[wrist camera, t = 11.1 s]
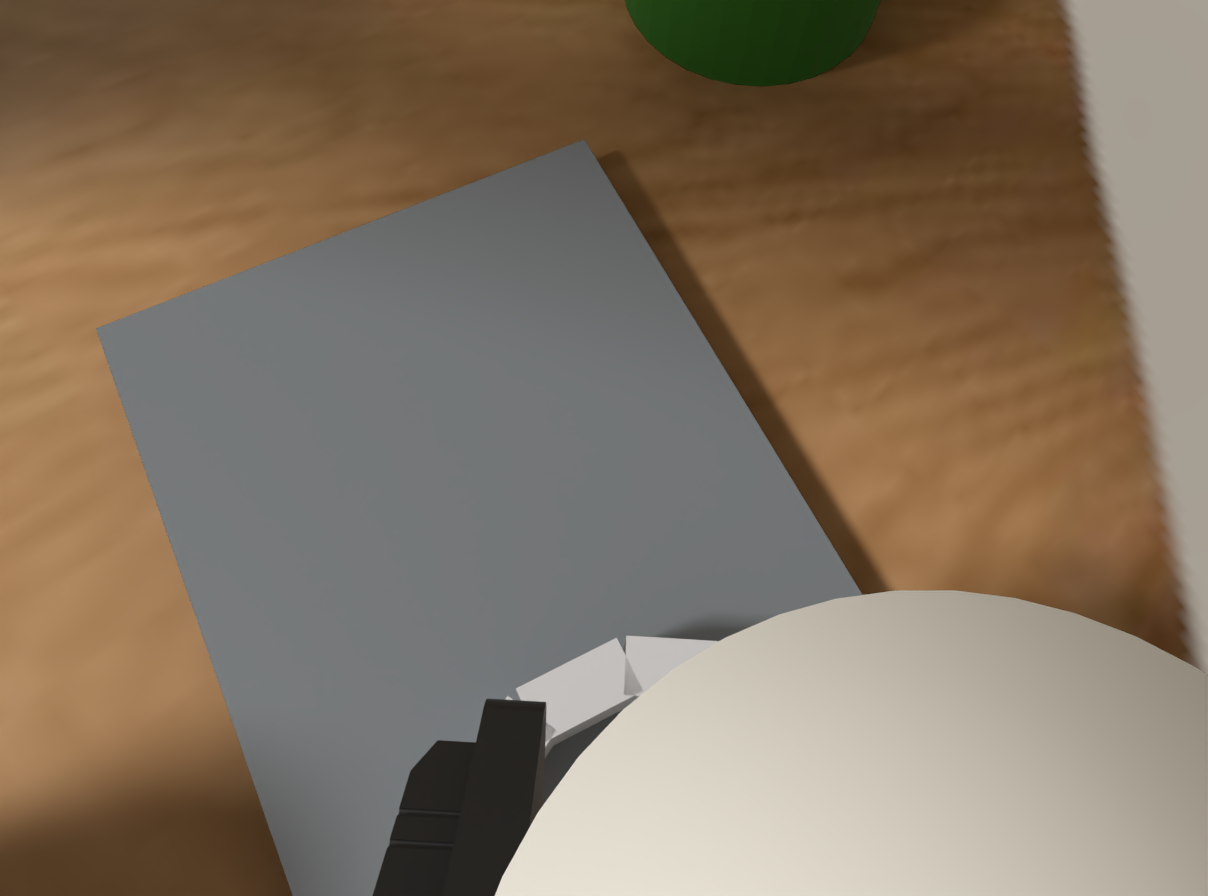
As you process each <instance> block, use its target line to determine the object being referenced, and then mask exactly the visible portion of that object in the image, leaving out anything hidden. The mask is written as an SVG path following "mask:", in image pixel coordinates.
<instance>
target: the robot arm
mask: <svg viewBox="0 0 1208 896" xmlns="http://www.w3.org/2000/svg"><path fill="white" fill-rule="evenodd" d="M545 738H546V702H538V701H521V700H505V699H488V698H487V699H486V701H485V704H484V708H483V713H482V717H481V722H480V726H479V731H478V735H477V740H476V742H460V741H443V740H437V742H436V743H435V744H434V745H433V746H432V747H431V748H430V749H429V750H428V752H427V753H426V754H425V755H424V756H423V757H422V758H421V759H420V761H419V762H418V763H417V764H416V765H415V766H414V767H413V768H412V770H411V771H410V774H409V777H408V780H407V784H406V787H405V790H404V793H403V797H402V800H401V803H400V807H399V814H398V815H397V817H396V820H395V823H394V826H393V830H392V833H391V836H390V843H389V847H387V850H386V853H385V856H384V859H383V863H382V866H381V869H380V873H379V876H378V879H377V882H376V886H375V889H374V892H373V896H495V894H496V891H497V889H498V886H499V884H500V881H501V879H502V876H503V875H504V873H505V871H506V869H507V867H508V866H509V864H510V862H511V860H512V858H513V857H514V855H515V853H516V851H517V849H518V847H519V846H520V844H521V842H522V840H523V838H524V837H525V835H526V833H527V831H528V829H529V828H530V826H531V824H532V822H533V820H534V819H535V817H536V815H537V813H538V812H539V810H540V809H541V808H542V806H543V790H544V764H545Z"/></svg>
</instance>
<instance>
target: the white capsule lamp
mask: <svg viewBox="0 0 1208 896" xmlns="http://www.w3.org/2000/svg"><path fill="white" fill-rule="evenodd" d="M495 896H1208V675H1207V674H1205V673H1204V672H1202V671H1201V670H1199V669H1198V668H1196V667H1194V666H1192V665H1190V664H1188V663H1187V662H1185V661H1183V660H1181V659H1179V658H1177V657H1175V656H1173V655H1171V654H1169V653H1167V652H1165V651H1163V650H1161V649H1159V648H1157V647H1156V646H1154V645H1152V644H1150V643H1148V642H1146V641H1144V640H1142V639H1140V638H1138V637H1136V636H1134V635H1131V634H1128V633H1126V632H1123V631H1121V630H1118V629H1115V628H1113V627H1110V626H1107V625H1105V624H1102V623H1100V622H1097V621H1094V620H1092V619H1089V618H1086V617H1084V616H1081V615H1079V614H1076V613H1072V612H1068V611H1064V610H1060V609H1056V608H1052V607H1048V606H1044V605H1041V604H1037V603H1033V602H1029V601H1025V600H1021V599H1017V598H1011V597H1003V596H995V595H987V594H979V593H971V592H963V591H955V590H938V591H888V592H881V593H874V594H866V595H859V596H852V597H844V598H837V599H833V600H829V601H826V602H822V603H819V604H815V605H811V606H808V607H804V608H801V609H797V610H793V611H790V612H786V613H783V614H779V615H777V616H774V617H772V618H770V619H768V620H765V621H763V622H761V623H758V624H756V625H754V626H751V627H749V628H747V629H744V630H742V631H740V632H737V633H735V634H733V635H730V636H728V637H726V638H724V639H722V640H720V641H719V642H717V643H716V644H714V645H712V646H711V647H709V648H707V649H706V650H704V651H702V652H701V653H699V654H697V655H696V656H694V657H692V658H691V659H689V660H688V661H686V662H684V663H683V664H681V665H679V666H678V667H676V668H674V669H673V670H671V671H670V672H669V673H668V674H666V675H665V676H664V677H663V678H661V679H660V680H659V681H658V682H657V683H655V684H654V685H653V686H652V687H650V688H649V689H648V690H647V691H645V692H644V693H643V694H642V695H640V696H639V697H638V698H637V699H636V700H634V701H633V702H632V703H631V704H629V705H628V706H627V707H626V708H624V709H623V710H622V711H621V712H620V713H619V714H618V716H617V717H616V718H615V719H614V720H613V721H612V722H611V723H610V724H609V725H608V726H607V727H606V728H605V729H604V730H603V731H602V732H601V734H600V735H599V736H598V737H597V738H596V739H595V740H594V741H593V742H592V743H591V744H590V745H589V746H588V747H587V748H586V749H585V750H584V751H583V753H582V754H581V755H580V756H579V757H578V758H577V759H576V761H575V762H574V764H573V765H572V766H571V768H570V769H569V770H568V772H567V773H566V775H565V776H564V777H563V779H562V780H561V781H560V783H559V784H558V786H557V787H556V788H555V790H554V791H553V792H552V794H551V795H550V797H549V798H548V799H547V801H546V802H545V803H544V805H543V806H542V808H541V809H540V810H539V812H538V813H537V815H536V817H535V819H534V820H533V822H532V824H531V826H530V828H529V829H528V831H527V833H526V835H525V837H524V838H523V840H522V842H521V844H520V846H519V847H518V849H517V851H516V853H515V855H514V857H513V858H512V860H511V862H510V864H509V866H508V867H507V869H506V871H505V873H504V875H503V876H502V879H501V881H500V884H499V886H498V889H497V891H496V894H495Z"/></svg>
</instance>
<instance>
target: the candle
mask: <svg viewBox="0 0 1208 896" xmlns="http://www.w3.org/2000/svg"><path fill="white" fill-rule="evenodd" d="M625 2H626V7H627V9H628V11H629V13H630V16H631V18H632V20H633V22H634V24H635V26H636V27H637V28H638V30H639V31H640V32H641V33H642V35H643V36H644V37H645V39H646V40H647V41H648V42H649V43H650V44H651V45H652V46H653V47H654V48H656V49H657V50H658V51H659V52H660V53H661V54H663V55H664V56H665V57H666V58H668V59H670V60H671V61H673V62H675V63H676V64H678V65H680V66H681V67H683V68H685V69H686V70H689V71H691V72H694V73H696V74H699V75H702V76H704V77H707V78H709V79H713V80H717V81H722V82H726V83H731V84H735V85H748V86H772V85H783V84H790V83H794V82H798V81H802V80H805V79H809V78H813V77H815V76H817V75H819V74H821V73H823V72H825V71H828V70H830V69H832V68H834V67H835V66H836V65H838V64H839V63H840V62H842V61H843V60H844V59H846V58H847V57H849V56H850V55H851V54H852V53H853V52H854V50H855V49H856V48H857V47H858V46H859V45H860V43H861V42H862V41H863V40H864V38H865V36H866V34H867V32H868V30H869V28H870V26H871V24H872V22H873V19H874V16H875V14H876V11H877V8H878V6H879V3H880V0H625Z"/></svg>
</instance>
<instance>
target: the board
mask: <svg viewBox="0 0 1208 896" xmlns="http://www.w3.org/2000/svg"><path fill="white" fill-rule="evenodd" d="M96 330H97V333H98V336H99V339H100V342H101V345H102V347H103V350H104V353H105V356H106V359H107V362H108V365H109V368H110V371H111V373H112V376H113V379H114V382H115V385H116V388H117V391H118V394H119V396H120V399H121V402H122V405H123V408H124V411H125V414H126V417H127V420H128V422H129V425H130V428H131V431H132V434H133V437H134V440H135V443H136V446H137V448H138V451H139V454H140V457H141V460H142V463H143V466H144V469H145V471H146V474H147V477H148V480H149V483H150V486H151V489H152V492H153V495H154V497H155V500H156V503H157V506H158V509H159V512H160V515H161V518H162V521H163V523H164V526H165V529H166V532H167V535H168V538H169V541H170V544H171V546H172V549H173V552H174V555H175V558H176V561H177V564H178V567H179V570H180V572H181V575H182V578H183V581H184V584H185V587H186V590H187V593H188V596H189V598H190V601H191V604H192V607H193V610H194V613H195V616H196V619H197V621H198V624H199V627H200V630H201V633H202V636H203V639H204V642H205V645H206V647H207V650H208V653H209V656H210V659H211V662H212V665H213V668H214V671H215V673H216V676H217V679H218V682H219V685H220V688H221V691H222V694H223V696H224V699H225V702H226V705H227V708H228V711H229V714H230V717H231V720H232V722H233V725H234V728H235V731H236V734H237V737H238V740H239V743H240V746H241V748H242V751H243V754H244V757H245V760H246V763H247V766H248V769H249V771H250V774H251V777H252V780H253V783H254V786H255V789H256V792H257V795H258V797H259V800H260V803H261V806H262V809H263V812H264V815H265V818H266V821H267V823H268V826H269V829H270V832H271V835H272V838H273V841H274V844H275V846H276V849H277V852H278V855H279V858H280V861H281V864H282V867H283V870H284V872H285V875H286V878H287V881H288V884H289V887H290V890H291V893H292V896H373V892H374V889H375V886H376V882H377V879H378V876H379V873H380V869H381V866H382V863H383V859H384V856H385V853H386V850H387V847H389V843H390V836H391V833H392V830H393V826H394V823H395V820H396V817H397V815H398V814H399V807H400V803H401V800H402V797H403V793H404V790H405V787H406V784H407V780H408V777H409V774H410V771H411V770H412V768H413V767H414V766H415V765H416V764H417V763H418V762H419V761H420V759H421V758H422V757H423V756H424V755H425V754H426V753H427V752H428V750H429V749H430V748H431V747H432V746H433V745H434V744H435V743H436V742H437V740H443V741H460V742H476V740H477V735H478V731H479V726H480V722H481V717H482V713H483V708H484V704H485V701H486V699H487V698H488V699H505V700H521V701H538V702H546V738H545V764H544V790H543V805H544V803H545V802H546V801H547V799H548V798H549V797H550V795H551V794H552V792H553V791H554V790H555V788H556V787H557V786H558V784H559V783H560V781H561V780H562V779H563V777H564V776H565V775H566V773H567V772H568V770H569V769H570V768H571V766H572V765H573V764H574V762H575V761H576V759H577V758H578V757H579V756H580V755H581V754H582V753H583V751H584V750H585V749H586V748H587V747H588V746H589V745H590V744H591V743H592V742H593V741H594V740H595V739H596V738H597V737H598V736H599V735H600V734H601V732H602V731H603V730H604V729H605V728H606V727H607V726H608V725H609V724H610V723H611V722H612V721H613V720H614V719H615V718H616V717H617V716H618V714H619V713H620V712H621V711H622V710H623V709H624V708H626V707H627V706H628V705H629V704H631V703H632V702H633V701H634V700H636V699H637V698H638V697H639V696H640V695H642V694H643V693H644V692H645V691H647V690H648V689H649V688H650V687H652V686H653V685H654V684H655V683H657V682H658V681H659V680H660V679H661V678H663V677H664V676H665V675H666V674H668V673H669V672H670V671H671V670H673V669H674V668H676V667H678V666H679V665H681V664H683V663H684V662H686V661H688V660H689V659H691V658H692V657H694V656H696V655H697V654H699V653H701V652H702V651H704V650H706V649H707V648H709V647H711V646H712V645H714V644H716V643H717V642H719V641H720V640H722V639H724V638H726V637H728V636H730V635H733V634H735V633H737V632H740V631H742V630H744V629H747V628H749V627H751V626H754V625H756V624H758V623H761V622H763V621H765V620H768V619H770V618H772V617H774V616H777V615H779V614H783V613H786V612H790V611H793V610H797V609H801V608H804V607H808V606H811V605H815V604H819V603H822V602H826V601H829V600H833V599H837V598H844V597H852V596H859V595H862V593H861V592H860V590H859V588H858V587H857V585H856V583H855V582H854V580H853V578H852V577H851V575H850V574H849V572H848V570H847V569H846V567H845V565H844V564H843V562H842V560H841V559H840V557H839V556H838V554H837V552H836V551H835V549H834V547H833V546H832V544H831V542H830V541H829V539H828V537H827V536H826V534H825V533H824V531H823V529H822V528H821V526H820V524H819V523H818V521H817V519H816V518H815V516H814V515H813V513H812V511H811V510H810V508H809V506H808V505H807V503H806V501H805V500H804V498H803V497H802V495H801V493H800V492H799V490H798V488H797V487H796V485H795V483H794V482H793V480H792V479H791V477H790V475H789V474H788V472H787V470H786V469H785V467H784V465H783V464H782V462H781V461H780V459H779V457H778V456H777V454H776V452H775V451H774V449H773V447H772V446H771V444H770V443H769V441H768V439H767V438H766V436H765V434H764V433H763V431H762V429H761V428H760V426H759V425H758V423H757V421H756V420H755V418H754V416H753V415H752V413H751V411H750V410H749V408H748V407H747V405H746V403H745V402H744V400H743V398H742V397H741V395H740V393H739V392H738V390H737V389H736V387H735V385H734V384H733V382H732V380H731V379H730V377H729V375H728V374H727V372H726V371H725V369H724V367H723V366H722V364H721V362H720V361H719V359H718V357H717V356H716V354H715V353H714V351H713V349H712V348H711V346H710V344H709V343H708V341H707V339H706V338H705V336H704V335H703V333H702V331H701V330H700V328H699V326H698V325H697V323H696V321H695V320H694V318H693V317H692V315H691V313H690V312H689V310H688V308H687V307H686V305H685V303H684V302H683V300H682V299H681V297H680V295H679V294H678V292H677V290H676V289H675V287H674V285H673V284H672V282H671V281H670V279H669V277H668V276H667V274H666V272H665V271H664V269H663V267H662V266H661V264H660V263H659V261H658V259H657V258H656V256H655V254H654V253H653V251H652V249H651V248H650V246H649V245H648V243H647V241H646V240H645V238H644V236H643V235H642V233H641V231H640V230H639V228H638V227H637V225H636V223H635V222H634V220H633V218H632V217H631V215H630V213H629V212H628V210H627V209H626V207H625V205H624V204H623V202H622V200H621V199H620V197H619V195H618V194H617V192H616V191H615V189H614V187H613V186H612V184H611V182H610V181H609V179H608V177H607V176H606V174H605V173H604V171H603V169H602V168H601V166H600V164H599V163H598V161H597V159H596V158H595V156H594V154H593V153H592V151H591V150H590V148H589V146H588V145H587V143H586V141H585V140H581V141H578V142H576V143H573V144H571V145H568V146H566V147H563V148H560V149H558V150H555V151H553V152H550V153H547V154H545V155H542V156H540V157H537V158H535V159H532V160H529V161H527V162H524V163H522V164H519V165H516V166H514V167H511V168H509V169H506V170H504V171H501V172H498V173H496V174H493V175H491V176H488V177H486V178H483V179H480V180H478V181H475V182H473V183H470V184H467V185H465V186H462V187H460V188H457V189H455V190H452V191H449V192H447V193H444V194H442V195H439V196H437V197H434V198H431V199H429V200H426V201H424V202H421V203H418V204H416V205H413V206H411V207H408V208H406V209H403V210H400V211H398V212H395V213H393V214H390V215H388V216H385V217H382V218H380V219H377V220H375V221H372V222H369V223H367V224H364V225H362V226H359V227H357V228H354V229H351V230H349V231H346V232H344V233H341V234H338V235H336V236H333V237H331V238H328V239H326V240H323V241H320V242H318V243H315V244H313V245H310V246H308V247H305V248H302V249H300V250H297V251H295V252H292V253H289V254H287V255H284V256H282V257H279V258H277V259H274V260H271V261H269V262H266V263H264V264H261V265H259V266H256V267H253V268H251V269H248V270H246V271H243V272H240V273H238V274H235V275H233V276H230V277H228V278H225V279H222V280H220V281H217V282H215V283H212V284H210V285H207V286H204V287H202V288H199V289H197V290H194V291H191V292H189V293H186V294H184V295H181V296H179V297H176V298H173V299H171V300H168V301H166V302H163V303H160V304H158V305H155V306H153V307H150V308H148V309H145V310H142V311H140V312H137V313H135V314H132V315H130V316H127V317H124V318H122V319H119V320H117V321H114V322H111V323H109V324H106V325H104V326H101V327H99V328H96Z"/></svg>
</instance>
